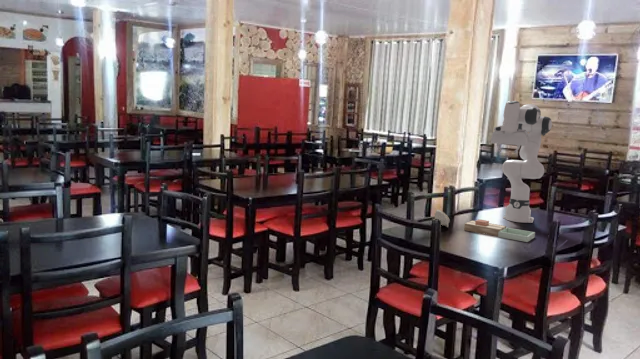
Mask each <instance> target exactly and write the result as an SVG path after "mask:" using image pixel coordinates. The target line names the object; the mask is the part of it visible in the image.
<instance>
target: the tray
mask: <svg viewBox="0 0 640 359" xmlns="http://www.w3.org/2000/svg"><path fill="white" fill-rule="evenodd" d="M497 237H498V238H502V239H508V240H513V241H520V242H523V243H524V242H525V243H528V242H530V241H531V240H533V239H535V237H536V232H535V231H529V230H523V229H517V228H512V227H506V228H505V229H503V230H501V231H499V232H498V236H497Z"/></svg>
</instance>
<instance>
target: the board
mask: <svg viewBox="0 0 640 359" xmlns="http://www.w3.org/2000/svg"><path fill="white" fill-rule="evenodd" d="M475 221H476V220H470V221H468V222H465V223H464V227H463V231H467V232H472V233H478V234H482V235H488V236H493V237H498V232H499V231H501V230H503V229H505V228H507V226H506V225H502V224H497V223H496V224H495V223H490V222H489V224H488V225H486V226H483V225H477V224H475Z"/></svg>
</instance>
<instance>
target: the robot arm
mask: <svg viewBox="0 0 640 359" xmlns="http://www.w3.org/2000/svg"><path fill="white" fill-rule="evenodd" d="M552 126H553V121H552V118H550V117H549V116H541V110H540V107H539V106H538V105H536V104H533V103H527V104H524V105H522V106H521V104H520V102H519V101H518V100H508V101H506V102H505V104H504V110H503V120H502V125H498V126H495V127H494V128H493V132H492V133H491V137H490V142H491V144H496V146H497V152H502V148H501V145H510V146H513V145H514V146H516V149H514V151H513V153H514V154H518V153H519V156H520V159H522V160H519V159H508V160H505V161H504V162H503V164H502V167H501V169H502V173H503V174H504V175H505V176H506V177H507V179H508V181H509V182H510V183H509V184H510V186H511V188H510V190H511V191H510V198H509V204H508V205H507V206H506V210H505V215H504V216H502V219H504V220H507V221H510V222H516V223H530V224H531V223H532V224H533V222H534V219H535V218H534V217H533V216H532V213H531V212H532V210H531V208H530V202H531V200H530V195H531V194H530V193H531V192H530V191H531V188H530V186H529V185H528V184H527V183H525V182H523V180H522V179H530V180H536V179H538V180H539V179H541V178H542V177H543V176H544V174H545V167H544V165H543V164H542V163H541V162H540V161H539V160H538V156H539V152H540V148H541V144H542V137H544V136H546V135H547V134H548V133H549V132H550V131H551V129H552ZM518 151H519V152H518Z"/></svg>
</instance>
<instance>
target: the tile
mask: <svg viewBox="0 0 640 359" xmlns="http://www.w3.org/2000/svg"><path fill="white" fill-rule="evenodd" d="M474 221H475V224H477V225H483V226H486V225H488V224H489V223H490V221H489V220H486V219H476V220H474Z"/></svg>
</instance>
